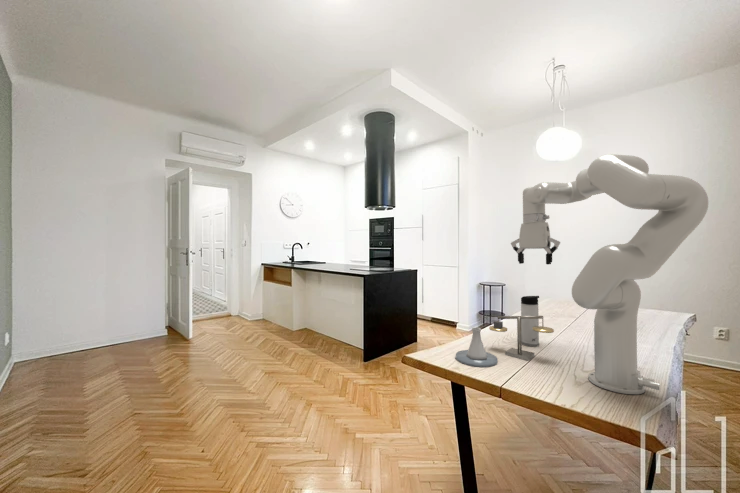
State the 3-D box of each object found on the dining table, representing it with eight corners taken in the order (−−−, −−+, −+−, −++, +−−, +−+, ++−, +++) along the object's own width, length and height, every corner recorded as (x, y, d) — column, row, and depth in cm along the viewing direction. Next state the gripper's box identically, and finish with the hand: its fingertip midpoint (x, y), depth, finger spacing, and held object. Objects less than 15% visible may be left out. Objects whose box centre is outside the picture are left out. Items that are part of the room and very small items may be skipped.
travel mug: (538, 348, 117) (537, 297, 117) (520, 345, 121) (519, 295, 121) (540, 343, 122) (540, 295, 122) (523, 341, 126) (522, 293, 126)
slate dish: (504, 359, 105) (504, 356, 105) (485, 370, 96) (485, 367, 96) (468, 349, 116) (468, 347, 116) (448, 359, 106) (448, 356, 106)
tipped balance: (556, 361, 103) (556, 315, 103) (550, 366, 99) (549, 318, 99) (494, 346, 119) (493, 306, 119) (486, 350, 115) (486, 309, 115)
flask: (484, 353, 109) (484, 326, 109) (490, 360, 102) (490, 331, 102) (464, 352, 110) (463, 325, 110) (468, 360, 102) (468, 331, 102)
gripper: (562, 218, 111) (563, 264, 110) (514, 221, 123) (515, 262, 123) (556, 217, 106) (556, 265, 105) (507, 220, 118) (507, 263, 118)
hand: (534, 263), depth 114 cm, fingers open, 9 cm apart
